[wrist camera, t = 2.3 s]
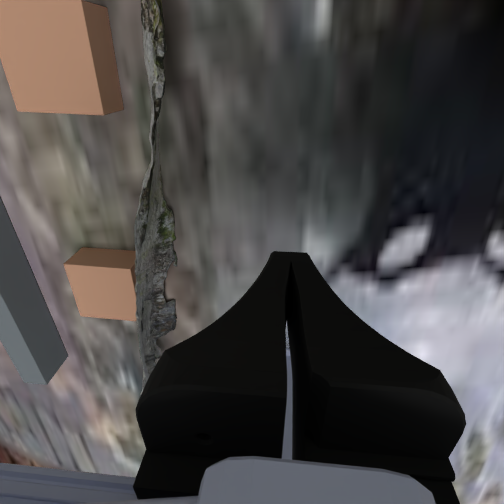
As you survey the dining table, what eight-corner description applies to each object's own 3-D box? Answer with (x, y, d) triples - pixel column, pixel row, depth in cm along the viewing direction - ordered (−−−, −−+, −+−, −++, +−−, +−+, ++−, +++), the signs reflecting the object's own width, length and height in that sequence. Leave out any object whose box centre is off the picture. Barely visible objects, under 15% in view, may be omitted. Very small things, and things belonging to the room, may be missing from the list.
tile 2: (145, 249, 23) (130, 269, 20) (153, 299, 25) (141, 321, 23) (84, 245, 23) (63, 264, 21) (98, 294, 25) (80, 316, 23)
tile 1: (109, 8, 16) (81, 0, 13) (125, 108, 18) (103, 115, 16) (22, 6, 16) (-20, -2, 14) (49, 105, 18) (17, 111, 16)
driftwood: (136, -348, 10) (32, -628, 6) (212, -334, 10) (160, -606, 6) (150, 373, 29) (127, 426, 25) (177, 378, 29) (158, 431, 25)
